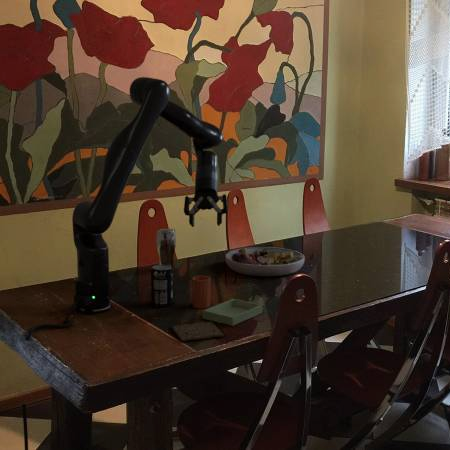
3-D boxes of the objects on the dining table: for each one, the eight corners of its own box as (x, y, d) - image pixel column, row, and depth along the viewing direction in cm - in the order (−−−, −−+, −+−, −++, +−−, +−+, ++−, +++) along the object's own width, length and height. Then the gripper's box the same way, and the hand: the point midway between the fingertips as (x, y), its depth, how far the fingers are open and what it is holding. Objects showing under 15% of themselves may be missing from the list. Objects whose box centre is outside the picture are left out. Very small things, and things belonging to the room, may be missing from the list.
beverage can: (164, 299, 232) (164, 263, 230) (176, 304, 228) (176, 267, 225) (147, 303, 228) (146, 266, 225) (159, 308, 223) (158, 270, 221)
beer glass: (179, 269, 269) (179, 230, 266) (167, 273, 264) (166, 233, 261) (166, 266, 273) (165, 227, 270) (153, 270, 267) (152, 230, 264)
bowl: (258, 255, 294) (258, 236, 293) (319, 267, 278) (320, 247, 276) (208, 269, 270) (208, 249, 269) (272, 283, 254) (272, 262, 252)
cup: (202, 309, 223) (202, 281, 222) (188, 306, 226) (188, 278, 224) (213, 305, 228) (213, 277, 226) (200, 301, 231) (200, 274, 229)
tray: (232, 326, 209) (232, 317, 208) (202, 318, 215) (202, 310, 214) (262, 312, 222) (262, 304, 221) (233, 306, 227) (233, 298, 227)
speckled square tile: (171, 327, 206) (170, 324, 205) (211, 323, 210) (211, 320, 210) (181, 341, 195) (181, 338, 195) (224, 336, 200) (224, 333, 199)
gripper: (183, 177, 238) (181, 221, 231) (226, 174, 237) (225, 219, 231) (187, 187, 244) (186, 231, 238) (229, 185, 244) (228, 228, 237)
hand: (205, 225), depth 234 cm, fingers open, 8 cm apart
